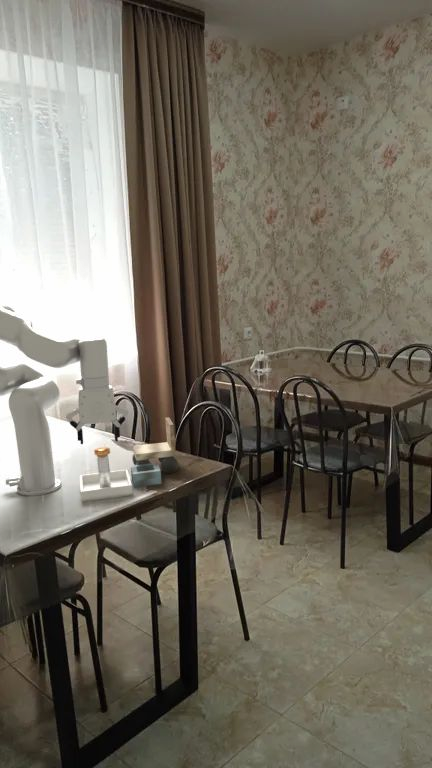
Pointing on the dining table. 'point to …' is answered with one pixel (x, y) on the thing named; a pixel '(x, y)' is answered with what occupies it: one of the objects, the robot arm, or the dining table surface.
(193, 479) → the dining table surface
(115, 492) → the tray
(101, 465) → the stop pin
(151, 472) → the trolley
